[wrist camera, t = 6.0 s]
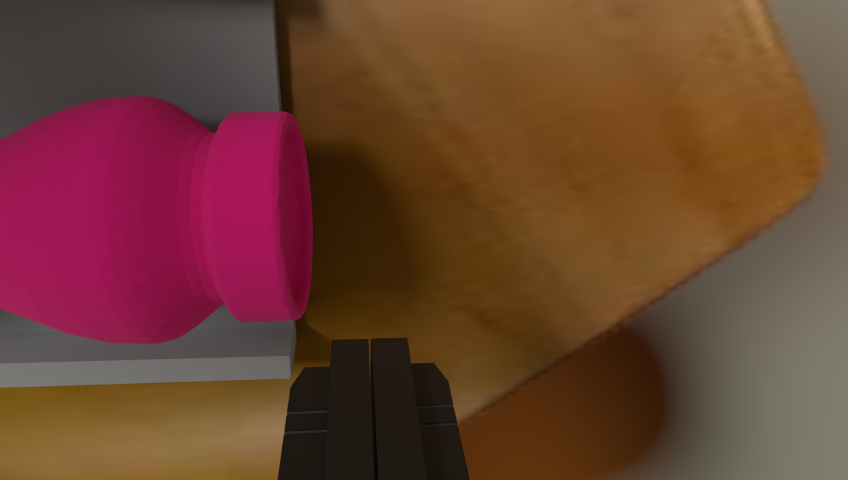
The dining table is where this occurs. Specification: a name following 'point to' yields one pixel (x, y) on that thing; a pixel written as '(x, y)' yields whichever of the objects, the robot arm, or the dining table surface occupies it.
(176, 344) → the gray open-ended tray
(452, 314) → the dining table surface
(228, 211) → the pepper mill
